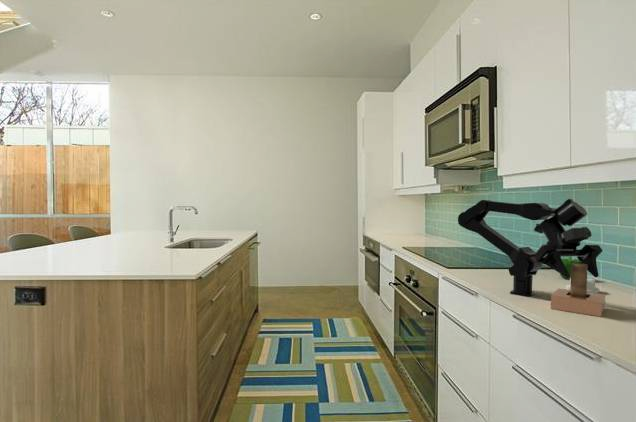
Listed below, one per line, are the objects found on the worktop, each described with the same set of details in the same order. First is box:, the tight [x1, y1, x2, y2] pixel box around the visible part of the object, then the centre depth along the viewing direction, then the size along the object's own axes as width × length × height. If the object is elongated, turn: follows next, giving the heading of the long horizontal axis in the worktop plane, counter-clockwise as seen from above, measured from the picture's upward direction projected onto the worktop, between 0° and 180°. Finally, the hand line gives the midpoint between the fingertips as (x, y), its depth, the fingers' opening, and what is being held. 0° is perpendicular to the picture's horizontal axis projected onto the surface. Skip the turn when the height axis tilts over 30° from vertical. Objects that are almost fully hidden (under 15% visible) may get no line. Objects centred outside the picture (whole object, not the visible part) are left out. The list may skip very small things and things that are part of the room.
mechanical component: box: [565, 277, 600, 294], centre depth 143 cm, size 10×4×10 cm
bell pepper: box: [559, 257, 581, 280], centre depth 166 cm, size 8×8×10 cm
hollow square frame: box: [550, 288, 606, 318], centre depth 118 cm, size 12×12×4 cm
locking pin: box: [569, 263, 588, 298], centre depth 118 cm, size 4×4×13 cm
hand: (582, 276), depth 117 cm, fingers open, 9 cm apart
